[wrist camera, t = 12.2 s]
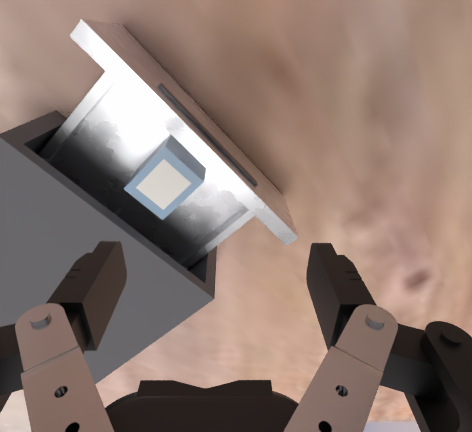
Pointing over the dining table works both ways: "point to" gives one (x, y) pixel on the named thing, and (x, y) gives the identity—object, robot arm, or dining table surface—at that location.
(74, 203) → the housing
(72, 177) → the tray
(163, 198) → the cartridge
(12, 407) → the dining table surface
